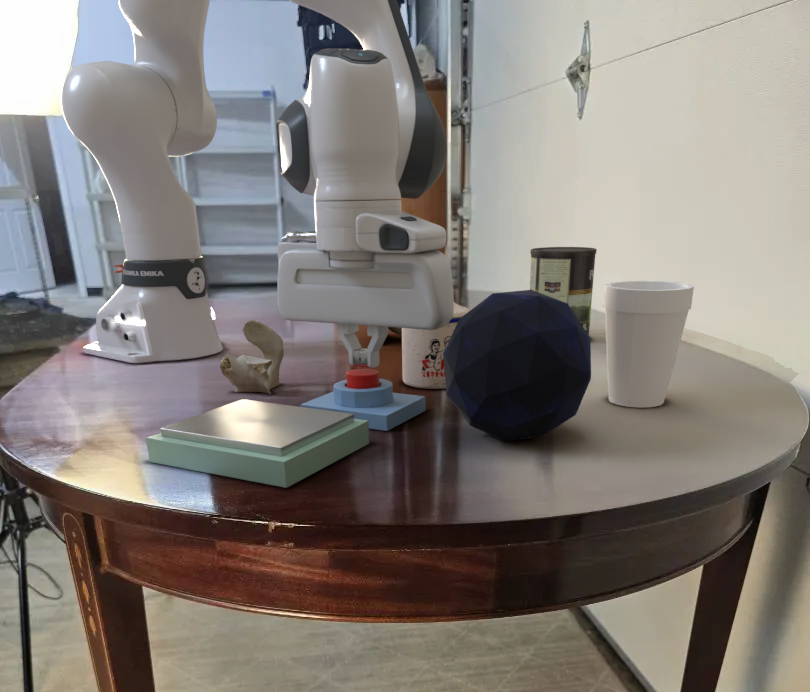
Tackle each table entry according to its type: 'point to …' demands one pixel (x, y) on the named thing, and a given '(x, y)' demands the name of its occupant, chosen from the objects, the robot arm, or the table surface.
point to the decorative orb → (518, 365)
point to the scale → (259, 441)
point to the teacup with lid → (427, 353)
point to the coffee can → (565, 277)
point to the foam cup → (643, 338)
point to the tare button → (362, 378)
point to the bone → (256, 361)
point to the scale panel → (371, 404)
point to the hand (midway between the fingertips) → (364, 366)
